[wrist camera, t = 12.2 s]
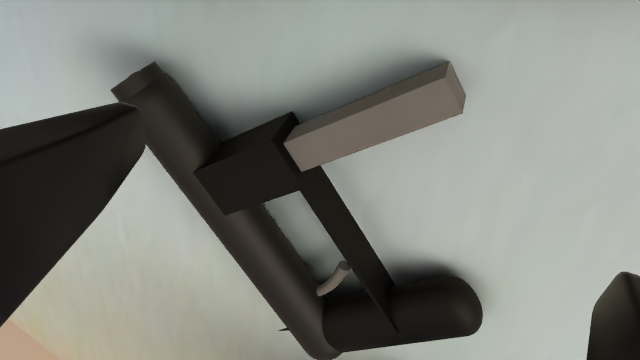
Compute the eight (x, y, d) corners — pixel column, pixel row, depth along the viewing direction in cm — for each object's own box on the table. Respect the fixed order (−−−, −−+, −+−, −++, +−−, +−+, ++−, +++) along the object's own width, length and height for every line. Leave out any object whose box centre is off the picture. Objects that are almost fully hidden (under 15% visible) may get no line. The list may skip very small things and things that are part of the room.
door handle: (367, -69, 17) (80, 106, 25) (568, 344, 24) (295, 375, 32) (387, -85, 19) (121, 79, 27) (563, 293, 27) (311, 333, 35)
